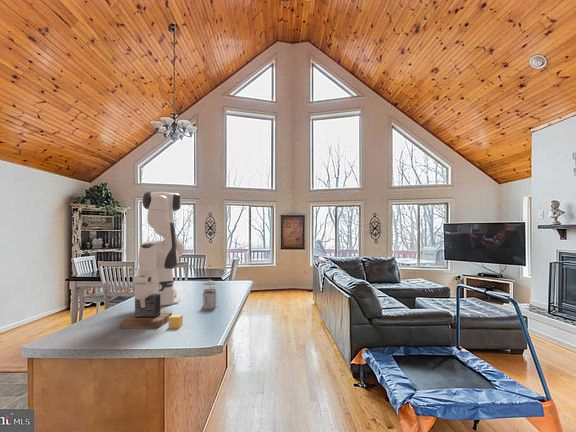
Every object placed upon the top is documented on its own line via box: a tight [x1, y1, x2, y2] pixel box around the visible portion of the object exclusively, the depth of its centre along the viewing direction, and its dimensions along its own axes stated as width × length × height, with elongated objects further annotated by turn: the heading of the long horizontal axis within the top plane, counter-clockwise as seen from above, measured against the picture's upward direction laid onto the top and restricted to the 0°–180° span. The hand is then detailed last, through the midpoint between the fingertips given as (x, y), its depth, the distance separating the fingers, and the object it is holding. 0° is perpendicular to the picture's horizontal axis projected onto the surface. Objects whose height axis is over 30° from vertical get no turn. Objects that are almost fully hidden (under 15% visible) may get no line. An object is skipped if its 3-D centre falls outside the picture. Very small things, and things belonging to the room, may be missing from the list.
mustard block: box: [168, 314, 184, 329], centre depth 165 cm, size 5×5×5 cm
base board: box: [119, 312, 173, 329], centre depth 172 cm, size 18×18×3 cm
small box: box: [134, 294, 161, 318], centre depth 173 cm, size 11×6×10 cm, turn 87°
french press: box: [201, 263, 219, 309], centre depth 209 cm, size 10×12×25 cm
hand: (147, 305), depth 172 cm, fingers open, 8 cm apart
